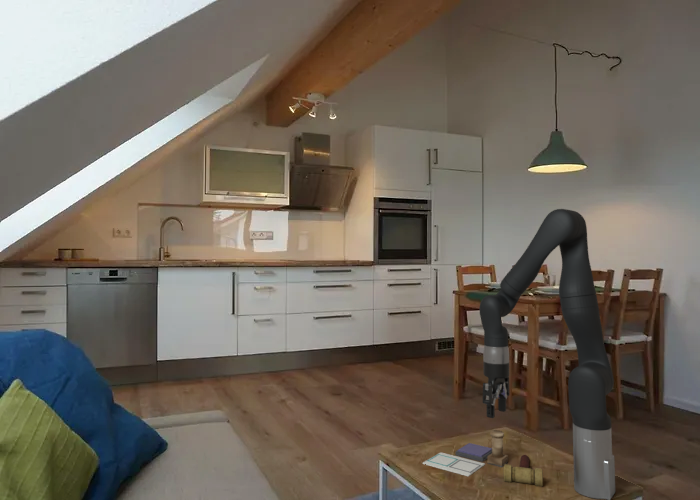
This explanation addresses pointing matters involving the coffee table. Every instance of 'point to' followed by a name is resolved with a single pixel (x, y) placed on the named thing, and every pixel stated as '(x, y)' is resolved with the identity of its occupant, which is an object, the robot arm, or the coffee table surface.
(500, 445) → the stamp
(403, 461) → the coffee table surface
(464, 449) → the ink pad
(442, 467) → the sheet
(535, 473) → the gavel
